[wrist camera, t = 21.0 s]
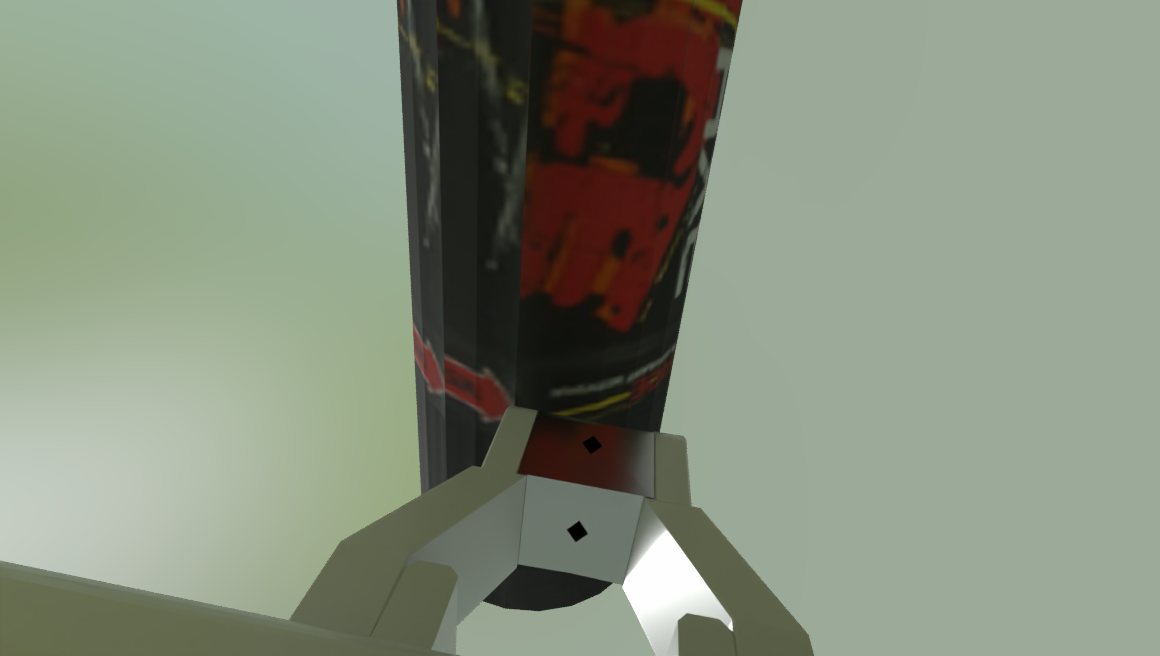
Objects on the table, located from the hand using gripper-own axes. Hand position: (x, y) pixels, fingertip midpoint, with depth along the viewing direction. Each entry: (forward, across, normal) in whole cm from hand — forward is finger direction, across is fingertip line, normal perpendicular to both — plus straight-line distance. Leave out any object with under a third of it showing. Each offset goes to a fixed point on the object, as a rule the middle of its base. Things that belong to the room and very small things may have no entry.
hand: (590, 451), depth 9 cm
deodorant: (+4, +2, -10) cm, 11 cm away
